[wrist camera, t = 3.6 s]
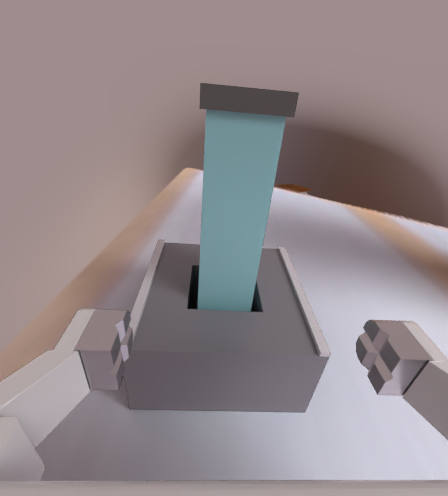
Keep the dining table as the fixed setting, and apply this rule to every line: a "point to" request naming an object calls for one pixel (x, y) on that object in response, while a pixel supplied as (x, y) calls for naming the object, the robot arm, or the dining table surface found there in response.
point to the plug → (237, 188)
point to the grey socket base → (222, 340)
